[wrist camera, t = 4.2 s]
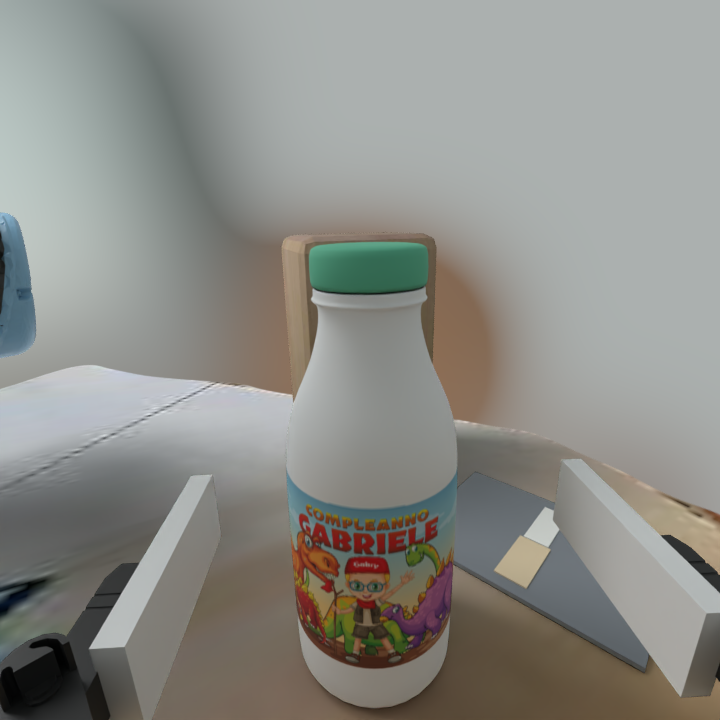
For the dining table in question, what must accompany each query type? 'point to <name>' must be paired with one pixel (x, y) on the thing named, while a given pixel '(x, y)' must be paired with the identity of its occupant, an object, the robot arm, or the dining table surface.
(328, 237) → the wooden block
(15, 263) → the robot arm
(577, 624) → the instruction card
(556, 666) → the dining table surface
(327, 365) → the milk bottle
